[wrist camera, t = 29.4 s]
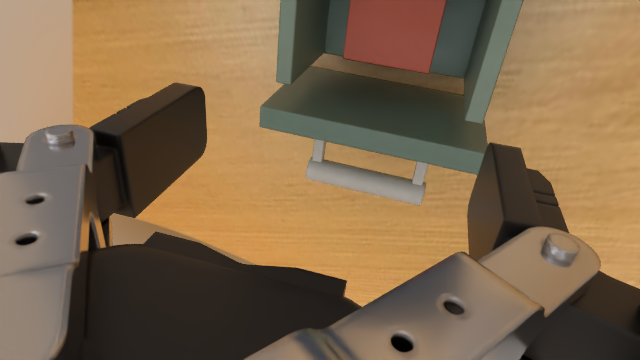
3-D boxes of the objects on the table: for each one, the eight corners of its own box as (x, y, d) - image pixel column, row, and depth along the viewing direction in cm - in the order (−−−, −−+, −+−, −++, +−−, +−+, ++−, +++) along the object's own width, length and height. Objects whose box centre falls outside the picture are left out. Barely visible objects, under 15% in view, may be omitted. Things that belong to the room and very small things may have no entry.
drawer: (458, 173, 30) (457, 243, 23) (298, 138, 32) (256, 193, 25) (553, -126, 21) (596, -147, 14) (323, -149, 23) (269, -178, 16)
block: (358, 39, 26) (342, 58, 22) (370, -44, 24) (354, -37, 20) (433, 52, 25) (429, 74, 21) (453, -32, 23) (452, -23, 19)
